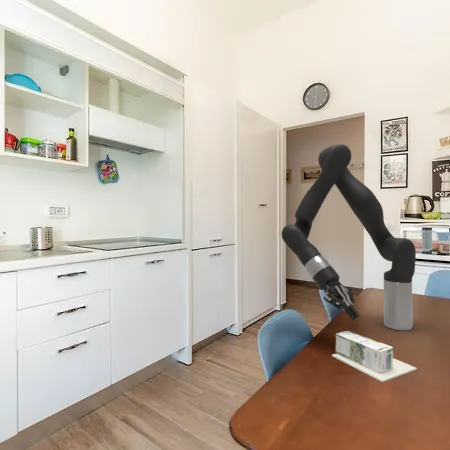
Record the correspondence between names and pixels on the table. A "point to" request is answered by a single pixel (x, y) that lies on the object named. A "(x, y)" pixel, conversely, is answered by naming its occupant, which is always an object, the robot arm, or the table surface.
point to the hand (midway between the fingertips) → (356, 318)
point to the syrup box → (364, 351)
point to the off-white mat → (396, 371)
